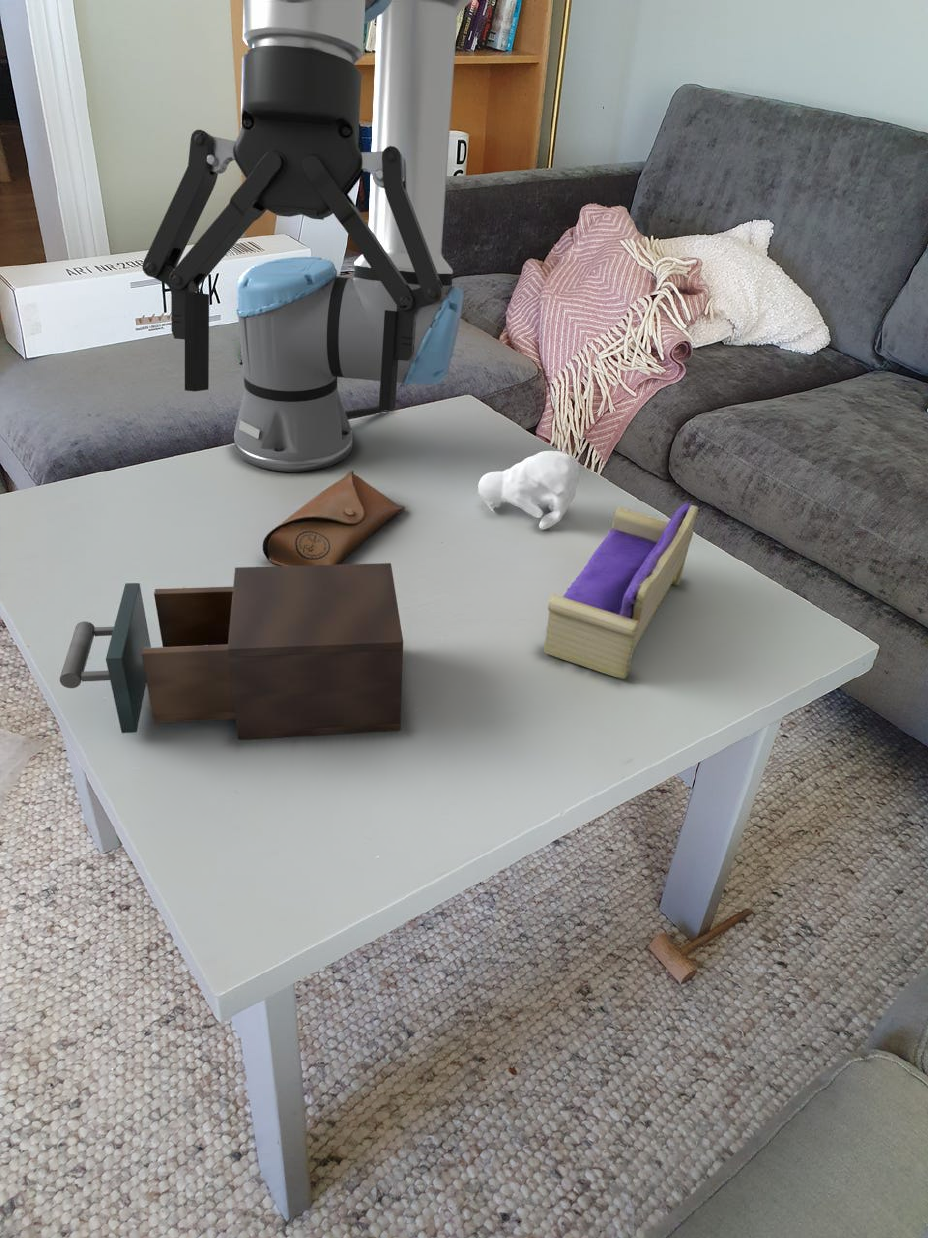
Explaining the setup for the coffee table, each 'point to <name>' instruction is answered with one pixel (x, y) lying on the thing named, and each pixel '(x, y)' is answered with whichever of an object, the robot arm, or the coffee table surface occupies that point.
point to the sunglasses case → (330, 525)
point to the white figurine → (534, 485)
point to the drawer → (163, 656)
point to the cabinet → (315, 650)
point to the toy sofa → (619, 591)
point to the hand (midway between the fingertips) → (291, 399)
